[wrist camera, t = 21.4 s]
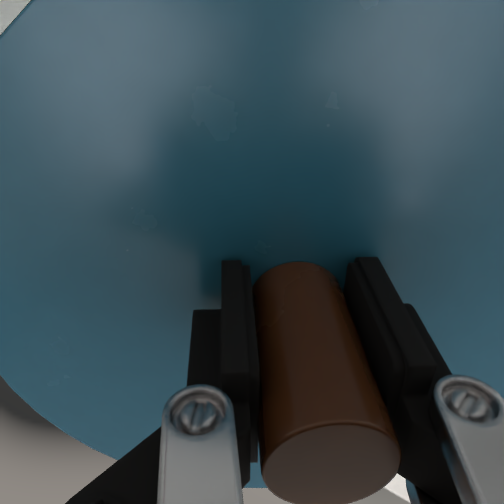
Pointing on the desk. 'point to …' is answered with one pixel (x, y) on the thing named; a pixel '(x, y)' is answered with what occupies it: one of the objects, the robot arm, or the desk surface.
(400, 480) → the desk surface
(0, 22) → the desk surface
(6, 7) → the desk surface
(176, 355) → the tin lid
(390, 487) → the desk surface
